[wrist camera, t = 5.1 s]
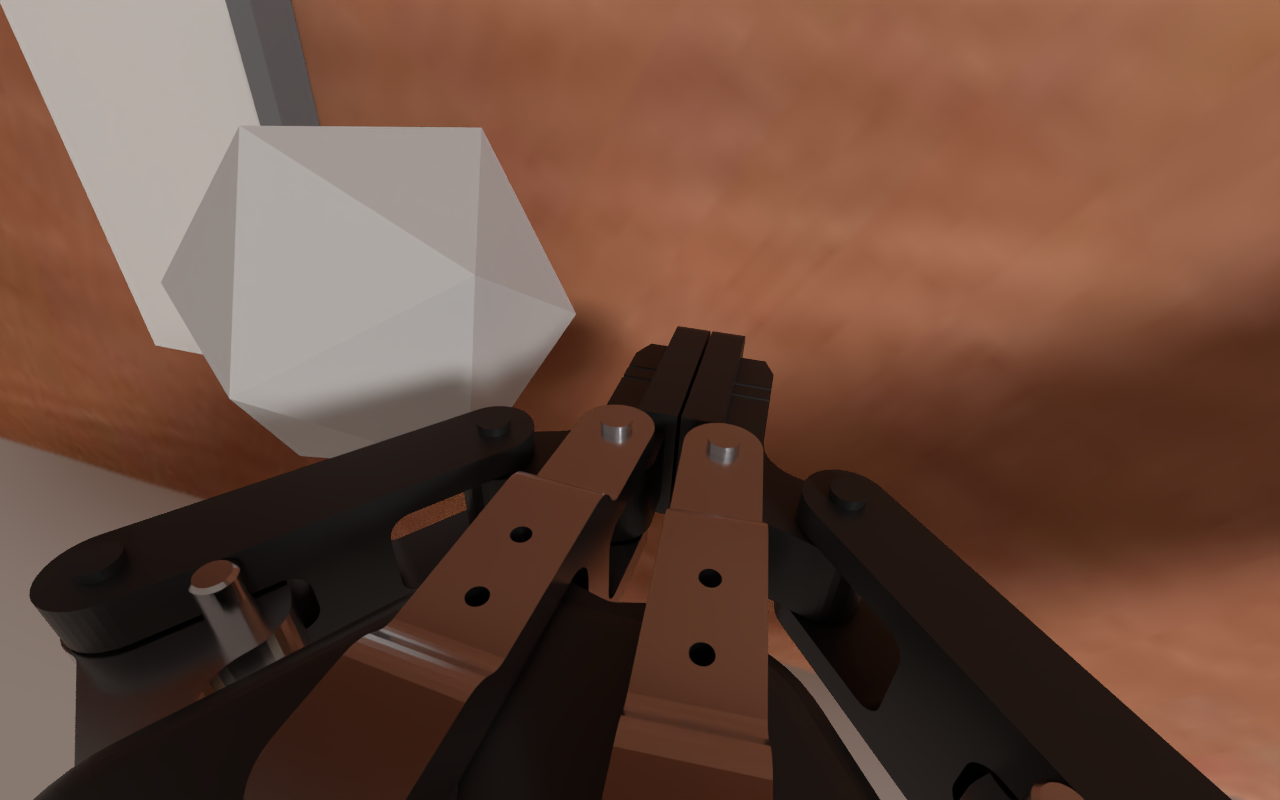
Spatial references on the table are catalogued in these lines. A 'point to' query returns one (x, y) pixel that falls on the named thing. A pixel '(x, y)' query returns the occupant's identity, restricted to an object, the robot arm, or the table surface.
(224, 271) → the die
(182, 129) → the white l-shaped plate
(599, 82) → the table surface
